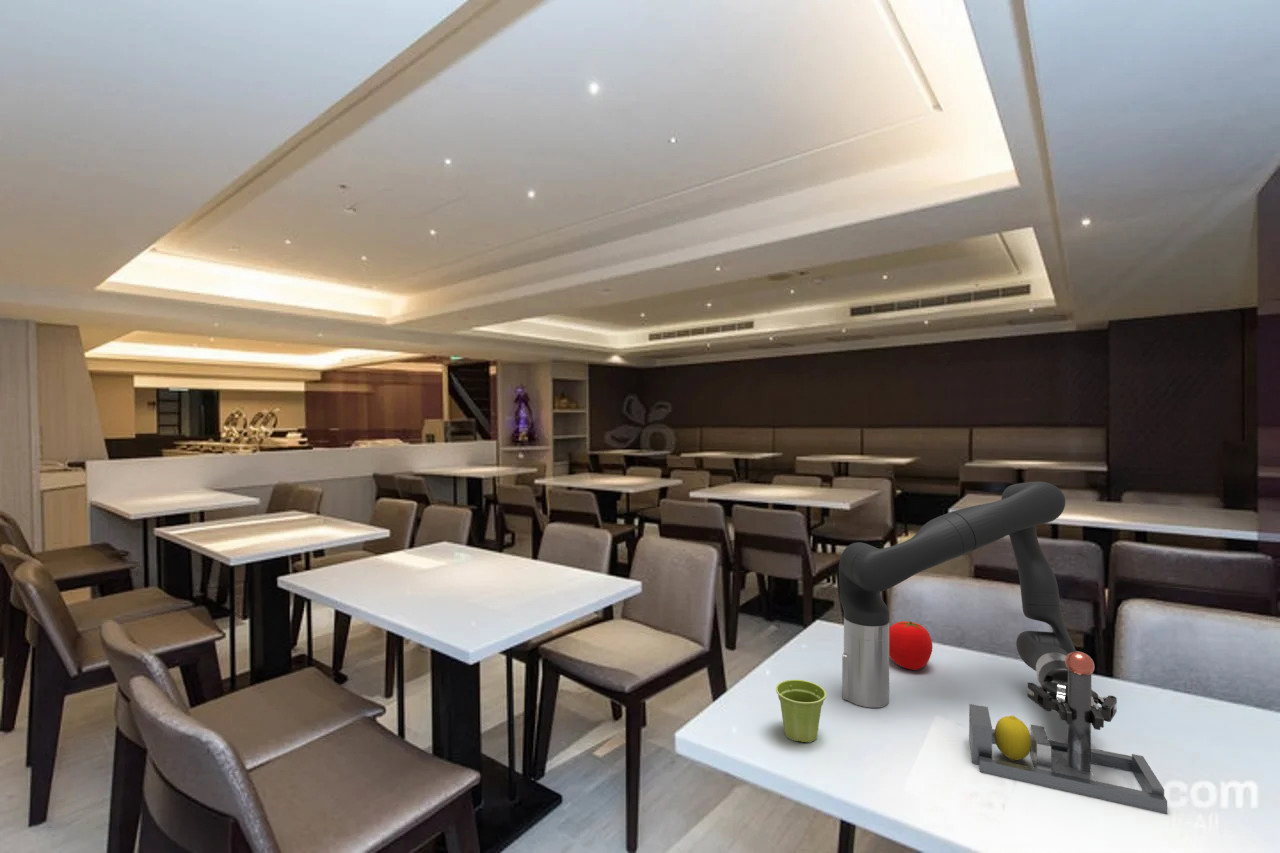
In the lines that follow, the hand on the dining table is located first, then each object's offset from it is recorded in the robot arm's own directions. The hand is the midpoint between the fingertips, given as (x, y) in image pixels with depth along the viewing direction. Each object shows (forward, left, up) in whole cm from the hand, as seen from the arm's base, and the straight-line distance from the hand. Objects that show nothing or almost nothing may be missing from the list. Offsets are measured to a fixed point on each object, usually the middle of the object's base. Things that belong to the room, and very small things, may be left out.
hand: (1083, 721), depth 98 cm
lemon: (-10, +3, -11) cm, 15 cm away
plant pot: (-45, -5, -11) cm, 47 cm away
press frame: (-4, +3, -10) cm, 12 cm away
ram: (-3, +3, -10) cm, 11 cm away
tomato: (-27, +38, -11) cm, 48 cm away
